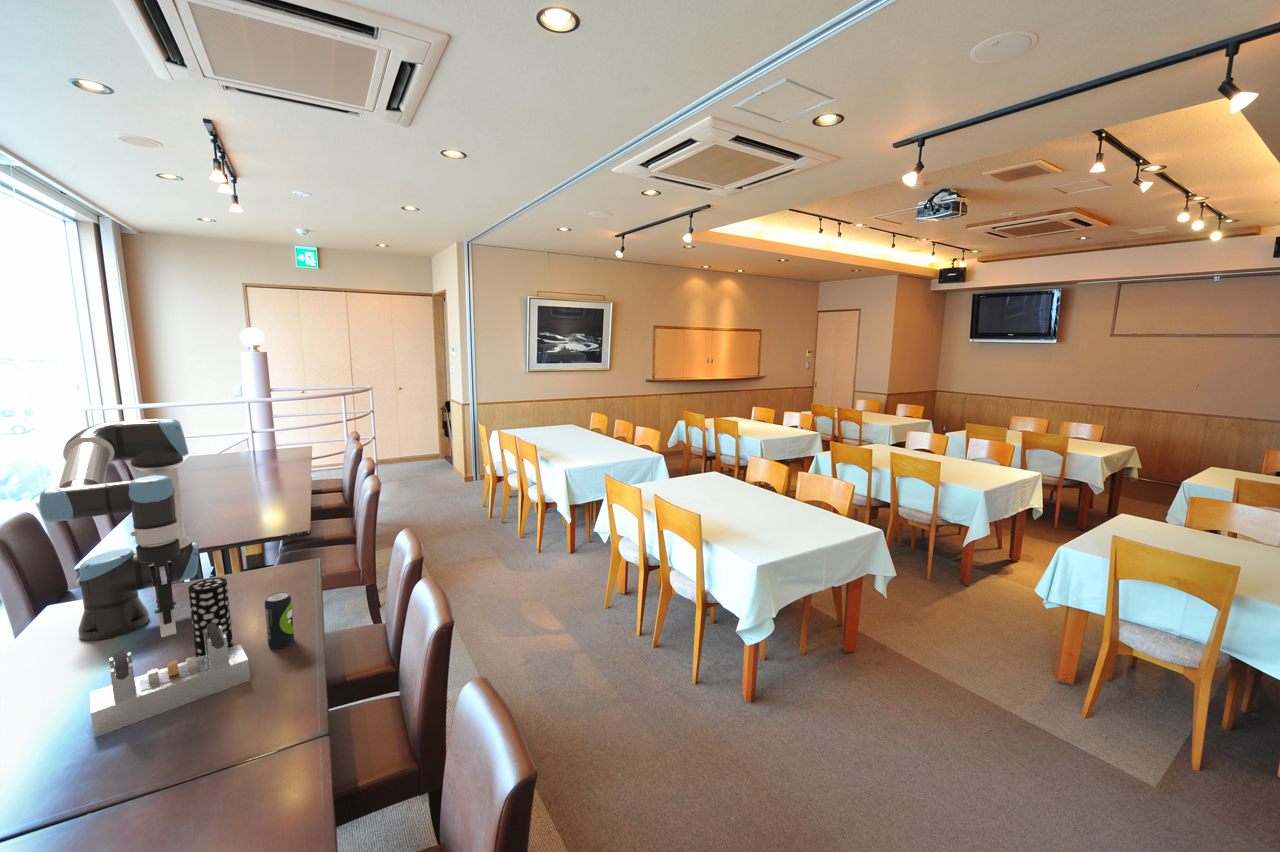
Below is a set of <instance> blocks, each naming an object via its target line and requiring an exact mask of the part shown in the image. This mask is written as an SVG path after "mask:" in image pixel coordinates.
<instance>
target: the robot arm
mask: <svg viewBox="0 0 1280 852" xmlns="http://www.w3.org/2000/svg"><path fill="white" fill-rule="evenodd" d="M184 434H185V433H184V432H183V427H182V425H181V423H180V421H179V420H177V419H174V418H152V419H150V418H148V419H137V420H136V419H135V420H119V421H117V420H114V421H106V422H105V421H104V422H100V423H97V424H95V425H92V426H89V427H87V428H85V429H83V430H81V431H79V432H77V433H76V434H74V435H73V436H72V437H71V438H70V439H68V441H67V442H66V443H65V444H64V445H65V446H64V448H63V453H62V455H63V458H64V460H65V465H64V468H63V472H62V475H61V478H60V482H59V485H58V487H54V488H51V489H45V490H43V491H41V492H40V494H39V508H40V509H39V510H40V514H41V518H43V520H44V521H45V522H48V523H49V522H50V523H52V522H53V523H54V522H63V521H72V520H78V519H86V518H92V517H99V516H106V515H113V514H114V515H115V514H121V513H130V512H131V516H132V523H133V525H132V526H133V531H132V532H130V536H131V537H134V539H135V541H134V542H135V544H136V545H137V546H136V547H135V549H136V551H134V550H133V549H132V548H119V549H113V550H110V551H106V552H103V553H100V554H97V555H94V556H92V557H90V558H88V559H86V560H85V561H83V562H82V563H81V564H80V566H79V568H78V569H79V570H78V573H79V578H78V581H79V582H80V587H81V588H80V589H81V594H82V595H81V596H82V603H83V609H84V610H83V613H82V617H81V619H80V623H79V626H78V631H77V632H78V637H79V639H80V640H83V641H101V640H107V639H111V638H115V637H119V636H122V635H125V634H128V633H130V632H133V631H136V630H137V629H140V628H141V627H142V626H143V627H144V626H145V624H147V623H148V622H149V620H150V614H149V611H148V609H147V608H146V606H145V604H144V603H143V602H142V600H141V598H140V596H139V591H141V590H147V589H151V588H154V589H155V590H154V591H155V598H156V600H155V603H156V604H157V606H156V607H157V609H156V610H154V614H158V622H159V630H160V636H161V638H165V637H168V636H171V635H175V634H177V627H176V619H175V606H176V605H177V602H176V600H175V601H174V596H173V585H172V584H175V583H181V582H184V581H188V580H191V579H193V578H194V577H196V575H197V573H198V572H197V571H198V566H199V544H198V542H194V541H193V539H192V538H191V536H189V535H186V532H185V525H184V516H183V507H182V496H181V488H180V479H179V471H178V470H179V469H178V467H179V466H180V465H181V464H182V463H183V461H184V457H185V456H188V455H189V448H188V445H187V441H186V438H185V435H184ZM124 461H125V462H126V461H130V466H131V467H132V468H133V469H136V470H138V473H139V474H138V475H139V477H138V478H137V477H136V479H135V478H134V479H132V480H124V481H115V482H113V481H112V482H106V479H107V471H108V464H109V463H111V462H124Z"/></svg>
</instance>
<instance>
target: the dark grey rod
mask: <svg viewBox="0 0 1280 852" xmlns="http://www.w3.org/2000/svg"><path fill="white" fill-rule="evenodd" d="M206 629H207V631H208V633H209V636H210V638H211V641H212V643H213V645H214V647H215V648H216V649H220V648H222V647H223V646H224V641H223V639H222V637H221V635H220V632H219V630H218V628H217V626H216V624H215V623H209V624H208V625H207V626H206Z"/></svg>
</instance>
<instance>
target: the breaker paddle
mask: <svg viewBox="0 0 1280 852" xmlns="http://www.w3.org/2000/svg"><path fill="white" fill-rule="evenodd" d="M178 664H179V663H178V661H177V660H175V659H174V660H172V661H169V662H166V668H167V669H168V675H169V676H172V675H175V674H178V673H179V672H178Z"/></svg>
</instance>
